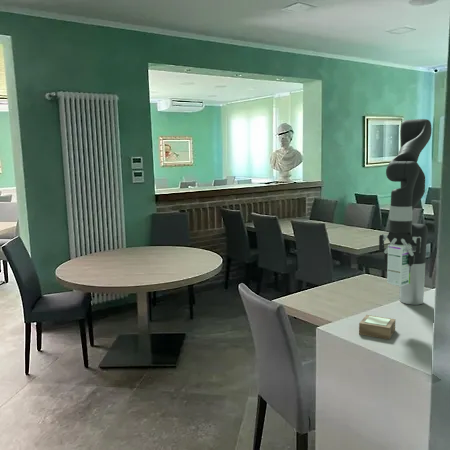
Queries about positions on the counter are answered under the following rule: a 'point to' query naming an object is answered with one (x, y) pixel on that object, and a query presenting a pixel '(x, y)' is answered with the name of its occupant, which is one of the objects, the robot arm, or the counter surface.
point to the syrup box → (398, 265)
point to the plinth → (377, 326)
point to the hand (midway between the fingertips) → (398, 264)
